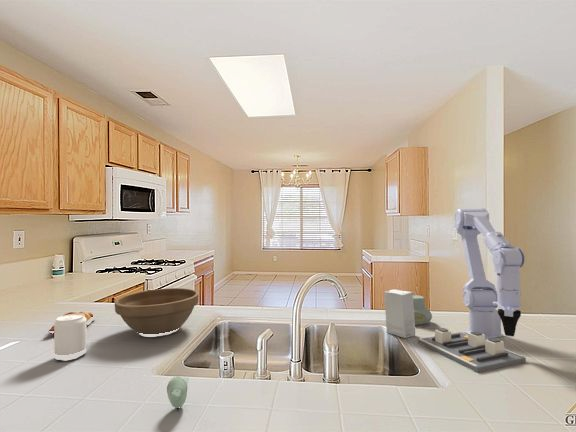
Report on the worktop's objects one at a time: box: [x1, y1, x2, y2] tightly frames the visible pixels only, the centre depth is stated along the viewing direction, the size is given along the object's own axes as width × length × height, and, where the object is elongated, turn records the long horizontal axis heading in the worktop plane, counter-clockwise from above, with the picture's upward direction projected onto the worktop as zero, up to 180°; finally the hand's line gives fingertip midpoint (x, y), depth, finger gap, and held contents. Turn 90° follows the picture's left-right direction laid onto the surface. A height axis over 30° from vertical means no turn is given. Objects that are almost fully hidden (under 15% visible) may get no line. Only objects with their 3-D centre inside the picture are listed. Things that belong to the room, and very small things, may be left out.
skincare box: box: [383, 288, 416, 339], centre depth 116 cm, size 8×6×15 cm
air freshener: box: [413, 294, 433, 326], centre depth 128 cm, size 11×8×10 cm
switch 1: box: [434, 327, 452, 344], centre depth 104 cm, size 4×3×4 cm
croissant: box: [48, 311, 93, 332], centre depth 126 cm, size 21×10×8 cm, turn 171°
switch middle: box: [468, 331, 486, 347], centre depth 101 cm, size 4×3×4 cm
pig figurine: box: [166, 375, 189, 409], centre depth 72 cm, size 8×4×7 cm, turn 2°
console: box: [417, 331, 527, 373], centre depth 100 cm, size 18×22×2 cm
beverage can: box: [53, 314, 88, 355], centre depth 100 cm, size 8×8×12 cm
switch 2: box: [485, 338, 505, 355], centre depth 95 cm, size 4×3×4 cm
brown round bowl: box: [114, 287, 199, 334], centre depth 122 cm, size 28×28×13 cm
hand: (509, 335), depth 97 cm, fingers closed
